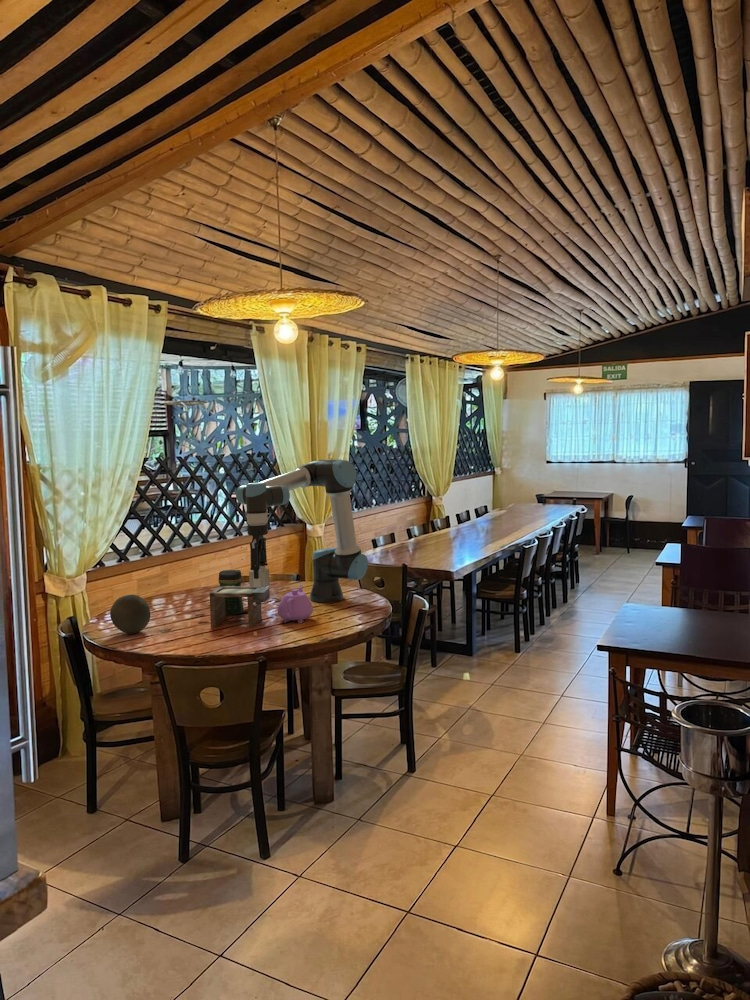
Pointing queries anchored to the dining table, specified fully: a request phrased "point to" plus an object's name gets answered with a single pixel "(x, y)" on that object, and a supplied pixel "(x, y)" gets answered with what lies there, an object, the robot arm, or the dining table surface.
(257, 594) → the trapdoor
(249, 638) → the dining table surface
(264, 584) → the grey cube
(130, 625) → the dark grey ball
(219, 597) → the hatch frame
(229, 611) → the coffee jar
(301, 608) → the pink rounded figure
